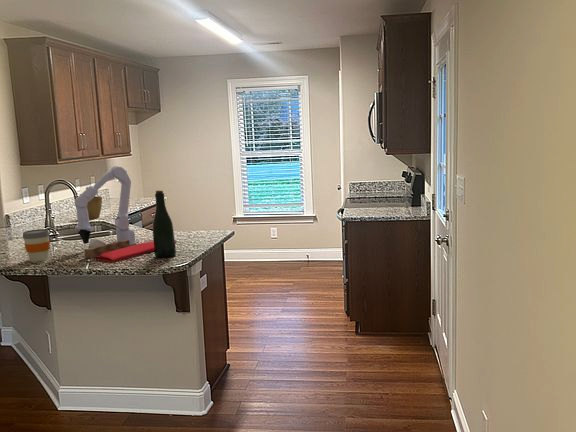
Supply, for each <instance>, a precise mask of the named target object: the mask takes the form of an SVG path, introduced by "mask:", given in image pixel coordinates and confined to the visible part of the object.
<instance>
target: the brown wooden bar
mask: <svg viewBox="0 0 576 432" xmlns="http://www.w3.org/2000/svg"><path fill="white" fill-rule="evenodd" d="M129 246H131V245H130V242H129V240H122V241H118V242H117V241H115V242H111V243H106V244H105V245H101V246H97V247H93V248H86V249H84V258H85V259H87V258H88V259H87V260H89V258H90V259H94V258H95V257H96V256H100V254H102V253H105V252H109V251H113V250H117V249H121V248H125V247H129ZM93 257H94V258H93Z"/></svg>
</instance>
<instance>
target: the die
mask: <svg viewBox="0 0 576 432" xmlns="http://www.w3.org/2000/svg"><path fill="white" fill-rule="evenodd" d="M106 244H107V243H106V242H105V241H104V240H103V239H102V237H94V238H89V242H88V248H87V249H89V248H93V247H97V246H101V245H106Z"/></svg>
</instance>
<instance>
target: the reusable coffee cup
mask: <svg viewBox="0 0 576 432" xmlns="http://www.w3.org/2000/svg"><path fill="white" fill-rule="evenodd" d="M22 239H23V240H24V247H25V250H26V253H27V256H28V259H29V262H30V263H31V262H32V263H36V262H37V263H39V262H44V261H48V260H49V259H50V249H51V247H50V244H51V242H50V241H51V240H50V231H49V229H47V228H41V229H40V228H38V229H30V230H25V231H23V232H22ZM47 259H48V260H47ZM38 261H39V262H38Z"/></svg>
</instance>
